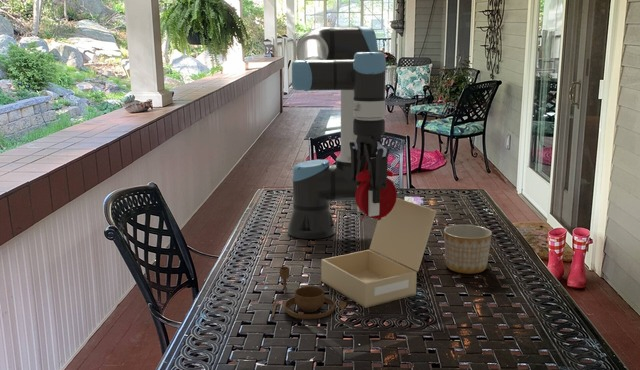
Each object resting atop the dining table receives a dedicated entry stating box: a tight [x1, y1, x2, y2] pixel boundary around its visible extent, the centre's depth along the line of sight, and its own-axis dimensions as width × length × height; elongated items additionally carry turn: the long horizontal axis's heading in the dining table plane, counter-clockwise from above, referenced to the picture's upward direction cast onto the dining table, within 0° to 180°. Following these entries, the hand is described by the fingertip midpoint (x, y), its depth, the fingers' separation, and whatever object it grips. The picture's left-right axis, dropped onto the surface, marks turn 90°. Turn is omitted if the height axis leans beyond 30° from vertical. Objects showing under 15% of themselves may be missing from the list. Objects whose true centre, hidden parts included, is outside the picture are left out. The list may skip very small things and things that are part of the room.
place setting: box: [271, 266, 347, 321], centre depth 153 cm, size 18×20×6 cm
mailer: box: [320, 249, 418, 309], centre depth 161 cm, size 20×15×6 cm
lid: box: [368, 197, 437, 272], centre depth 164 cm, size 20×15×2 cm
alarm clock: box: [355, 162, 398, 222], centre depth 157 cm, size 10×6×15 cm, turn 118°
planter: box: [443, 224, 493, 275], centre depth 175 cm, size 13×13×10 cm
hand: (368, 213), depth 157 cm, fingers closed on alarm clock, 4 cm apart
